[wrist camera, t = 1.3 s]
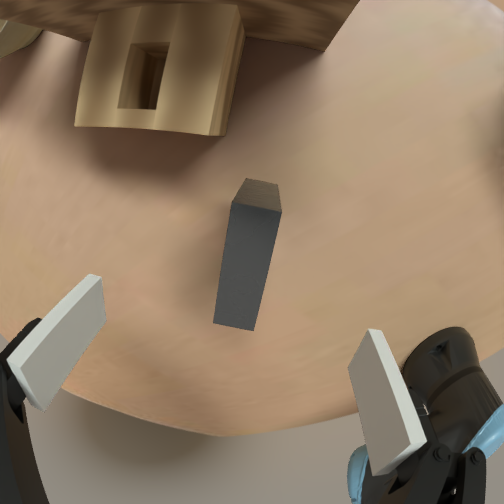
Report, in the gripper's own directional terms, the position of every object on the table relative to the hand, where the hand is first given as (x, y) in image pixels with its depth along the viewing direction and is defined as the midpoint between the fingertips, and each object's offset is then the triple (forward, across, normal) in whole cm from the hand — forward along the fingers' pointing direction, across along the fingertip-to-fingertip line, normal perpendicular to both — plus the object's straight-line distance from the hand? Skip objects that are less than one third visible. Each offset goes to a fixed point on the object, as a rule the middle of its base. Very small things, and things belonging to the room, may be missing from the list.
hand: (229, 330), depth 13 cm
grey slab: (+22, 0, 0) cm, 22 cm away
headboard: (+22, +12, -15) cm, 29 cm away
